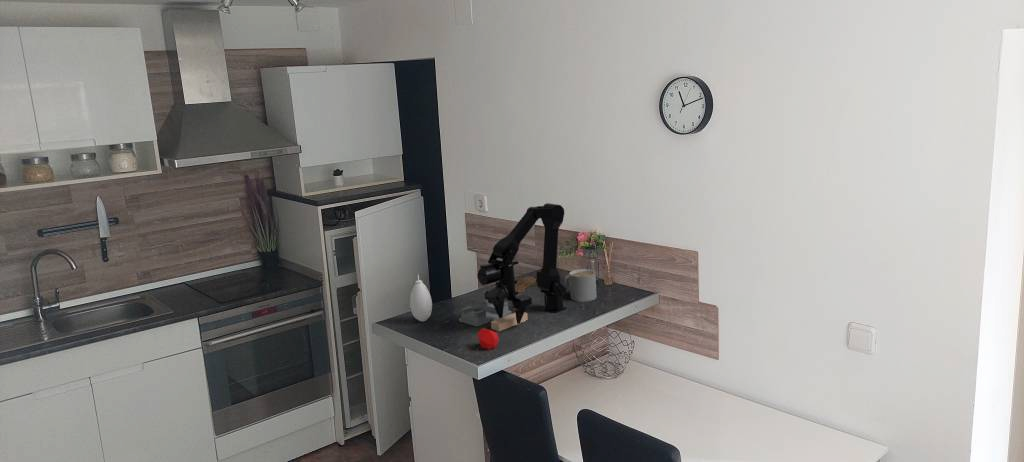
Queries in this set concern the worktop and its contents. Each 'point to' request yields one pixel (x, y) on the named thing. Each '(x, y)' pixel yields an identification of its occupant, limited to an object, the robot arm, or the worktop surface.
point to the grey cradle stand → (482, 314)
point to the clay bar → (507, 322)
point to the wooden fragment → (524, 284)
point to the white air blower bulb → (420, 301)
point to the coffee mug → (582, 285)
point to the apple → (488, 339)
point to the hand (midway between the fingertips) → (509, 320)
